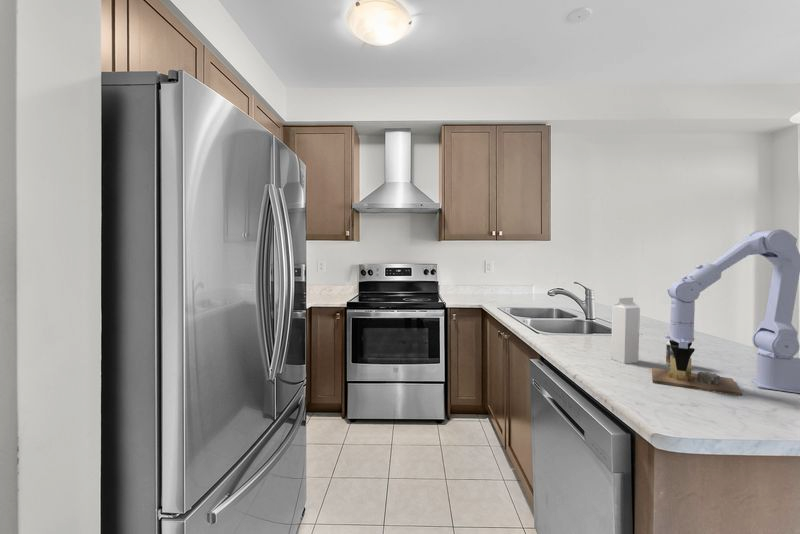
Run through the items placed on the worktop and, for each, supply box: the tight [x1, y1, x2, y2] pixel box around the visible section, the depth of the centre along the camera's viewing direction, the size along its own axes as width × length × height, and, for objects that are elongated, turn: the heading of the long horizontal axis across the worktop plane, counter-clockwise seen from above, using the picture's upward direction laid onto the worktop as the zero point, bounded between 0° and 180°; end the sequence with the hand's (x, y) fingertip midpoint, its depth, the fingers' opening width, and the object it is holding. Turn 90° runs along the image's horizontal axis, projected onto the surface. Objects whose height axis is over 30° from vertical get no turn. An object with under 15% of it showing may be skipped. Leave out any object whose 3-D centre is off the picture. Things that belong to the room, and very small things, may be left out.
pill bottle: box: [665, 338, 674, 366], centre depth 134 cm, size 6×6×10 cm
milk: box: [610, 296, 641, 364], centre depth 139 cm, size 6×6×22 cm
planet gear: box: [667, 355, 693, 381], centre depth 119 cm, size 6×6×6 cm
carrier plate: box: [651, 367, 743, 397], centre depth 118 cm, size 20×14×4 cm
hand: (680, 367), depth 119 cm, fingers open, 6 cm apart
